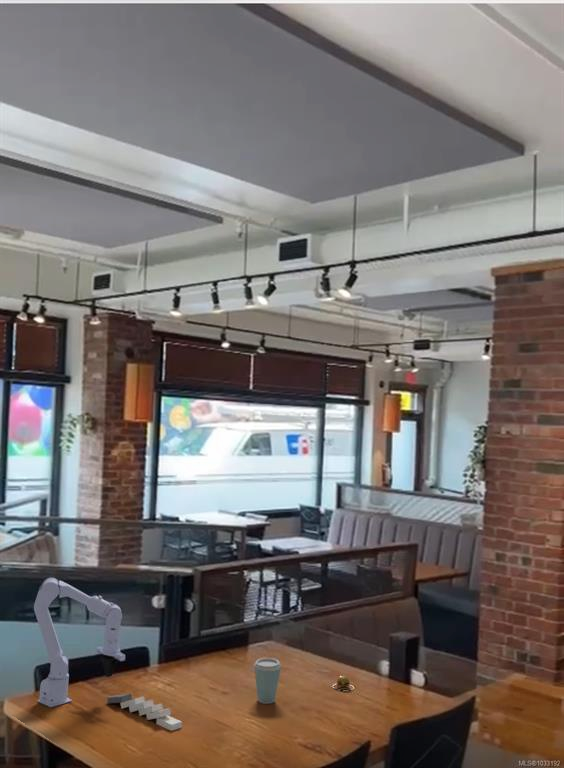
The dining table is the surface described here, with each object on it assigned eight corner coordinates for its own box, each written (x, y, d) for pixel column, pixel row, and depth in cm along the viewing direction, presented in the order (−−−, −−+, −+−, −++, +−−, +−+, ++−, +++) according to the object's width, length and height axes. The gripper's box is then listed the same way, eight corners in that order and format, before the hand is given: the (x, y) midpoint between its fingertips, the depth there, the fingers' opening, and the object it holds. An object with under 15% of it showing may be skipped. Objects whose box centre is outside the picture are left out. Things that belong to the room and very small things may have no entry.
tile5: (147, 720, 265) (160, 717, 260) (146, 713, 266) (159, 711, 261) (157, 717, 269) (170, 714, 263) (156, 711, 269) (169, 708, 264)
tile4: (139, 715, 269) (152, 711, 264) (138, 709, 269) (151, 705, 265) (149, 713, 272) (163, 709, 267) (148, 707, 273) (161, 703, 268)
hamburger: (360, 687, 317) (361, 674, 317) (354, 696, 305) (355, 682, 306) (332, 683, 320) (332, 669, 321) (325, 691, 309) (326, 677, 309)
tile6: (156, 724, 262) (171, 730, 257) (156, 718, 263) (171, 724, 257) (166, 721, 266) (181, 727, 260) (166, 715, 266) (181, 721, 260)
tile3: (130, 712, 271) (144, 708, 267) (129, 706, 272) (143, 702, 268) (139, 709, 275) (154, 705, 270) (138, 703, 276) (152, 699, 271)
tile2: (121, 708, 275) (135, 704, 270) (120, 703, 275) (134, 698, 271) (131, 705, 278) (145, 701, 274) (130, 700, 279) (143, 695, 274)
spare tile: (107, 703, 279) (122, 702, 275) (107, 697, 280) (121, 696, 275) (117, 700, 283) (131, 699, 278) (116, 694, 283) (131, 693, 279)
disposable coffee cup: (276, 707, 285) (278, 666, 287) (248, 703, 288) (250, 663, 289) (281, 698, 296) (284, 658, 297) (254, 694, 298) (257, 655, 299)
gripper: (132, 641, 283) (129, 678, 282) (107, 633, 292) (104, 669, 291) (117, 644, 277) (114, 682, 276) (92, 636, 286) (89, 673, 285)
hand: (108, 676), depth 283 cm, fingers closed
